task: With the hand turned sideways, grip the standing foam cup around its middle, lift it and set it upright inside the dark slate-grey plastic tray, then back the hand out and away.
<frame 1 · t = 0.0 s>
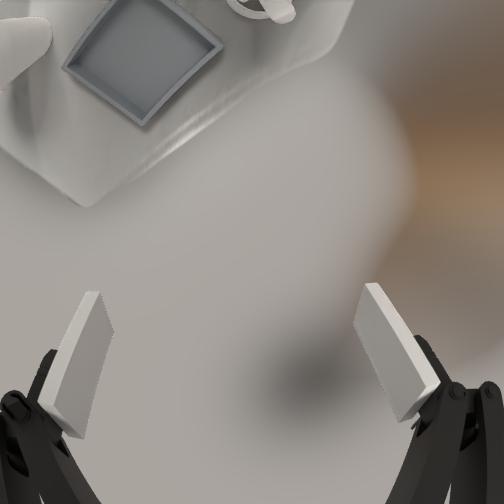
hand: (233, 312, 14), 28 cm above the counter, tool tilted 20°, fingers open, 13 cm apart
tray: (142, 48, 26), on the counter
foam cup: (33, 38, 20), on the counter
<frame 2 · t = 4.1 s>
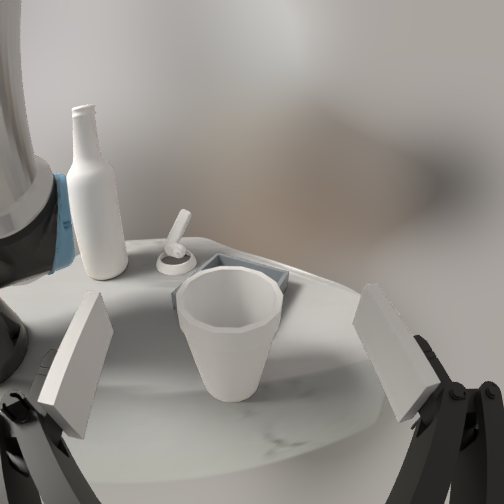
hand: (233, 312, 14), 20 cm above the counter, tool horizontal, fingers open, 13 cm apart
tray: (233, 297, 46), on the counter
foam cup: (231, 381, 32), on the counter
hook: (176, 264, 54), on the counter
alcohol: (107, 269, 51), on the counter
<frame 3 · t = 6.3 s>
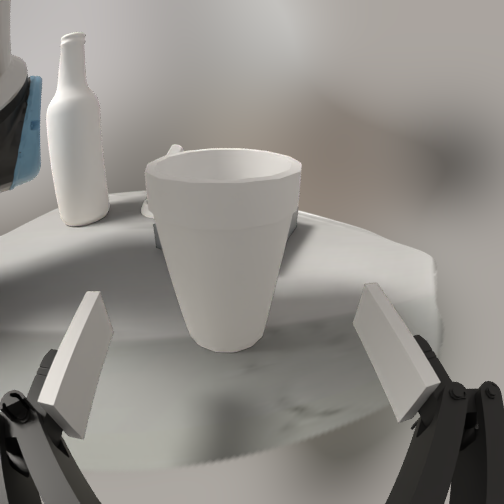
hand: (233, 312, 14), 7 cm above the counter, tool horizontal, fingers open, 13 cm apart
foam cup: (226, 325, 24), on the counter
hook: (164, 210, 45), on the counter
alcohol: (86, 217, 43), on the counter
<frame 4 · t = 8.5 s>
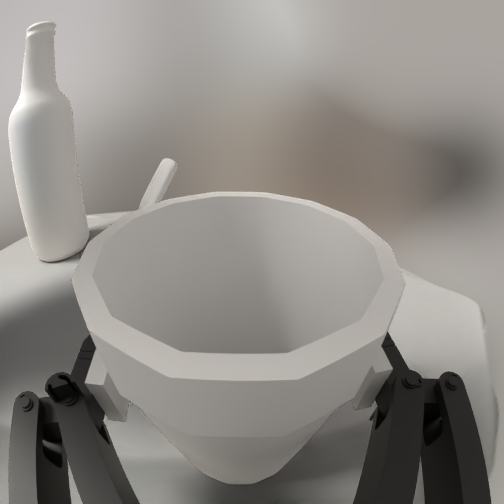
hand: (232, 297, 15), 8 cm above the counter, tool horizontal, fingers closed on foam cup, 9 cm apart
foam cup: (239, 440, 15), on the counter, touching gripper
hook: (155, 240, 37), on the counter
alcohol: (62, 248, 34), on the counter
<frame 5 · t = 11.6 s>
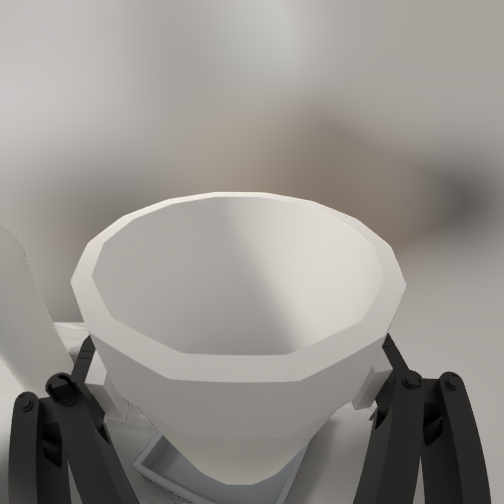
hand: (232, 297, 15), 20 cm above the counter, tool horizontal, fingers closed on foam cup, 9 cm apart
tray: (230, 455, 24), on the counter
foam cup: (239, 440, 15), point 12 cm above the counter, touching gripper
alcohol: (49, 378, 29), on the counter
when the fingers open (9 cm above the counter, at t = 15.0 s): foam cup stays where it is, resting on tray.
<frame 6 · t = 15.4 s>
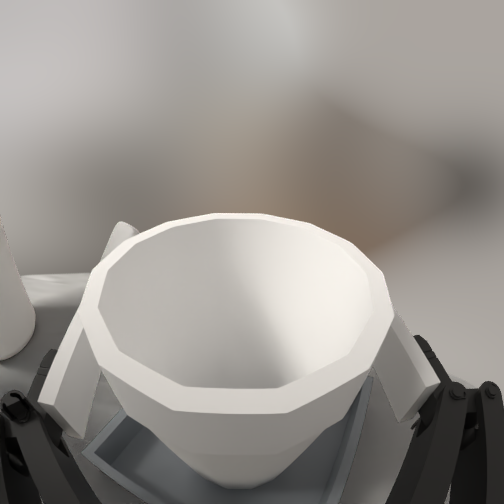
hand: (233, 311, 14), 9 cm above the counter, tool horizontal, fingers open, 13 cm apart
tray: (239, 447, 16), on the counter
foam cup: (239, 446, 15), resting on tray
hook: (119, 337, 24), on the counter
alcohol: (7, 335, 21), on the counter
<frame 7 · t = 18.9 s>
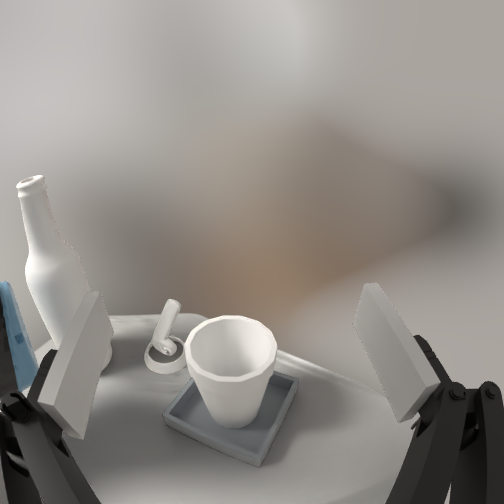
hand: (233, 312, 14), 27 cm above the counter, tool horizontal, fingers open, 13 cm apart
tray: (234, 410, 36), on the counter
foam cup: (234, 409, 35), resting on tray
hook: (167, 356, 44), on the counter
alcohol: (90, 359, 41), on the counter
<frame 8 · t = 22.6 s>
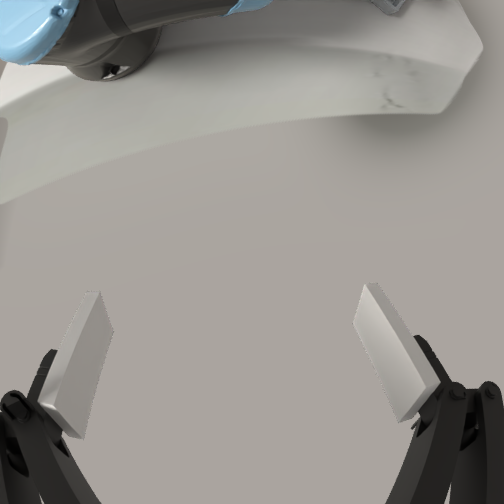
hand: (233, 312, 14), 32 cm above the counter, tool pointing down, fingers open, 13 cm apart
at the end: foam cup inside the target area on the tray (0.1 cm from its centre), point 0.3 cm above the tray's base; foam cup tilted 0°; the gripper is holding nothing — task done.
